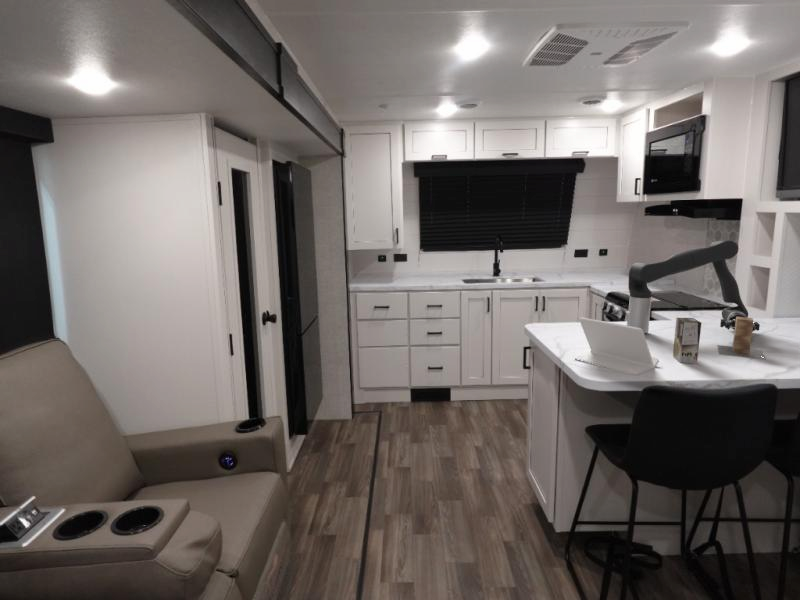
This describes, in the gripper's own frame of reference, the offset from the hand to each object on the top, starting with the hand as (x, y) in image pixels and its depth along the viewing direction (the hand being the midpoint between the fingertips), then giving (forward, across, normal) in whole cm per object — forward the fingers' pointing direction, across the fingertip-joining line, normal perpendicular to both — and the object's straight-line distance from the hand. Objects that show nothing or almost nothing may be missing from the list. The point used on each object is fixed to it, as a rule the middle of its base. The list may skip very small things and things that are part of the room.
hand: (740, 328), depth 218 cm
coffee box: (+33, -20, +8) cm, 40 cm away
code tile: (+11, 0, +8) cm, 14 cm away
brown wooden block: (+11, 0, +8) cm, 14 cm away
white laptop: (+50, -44, +8) cm, 66 cm away
